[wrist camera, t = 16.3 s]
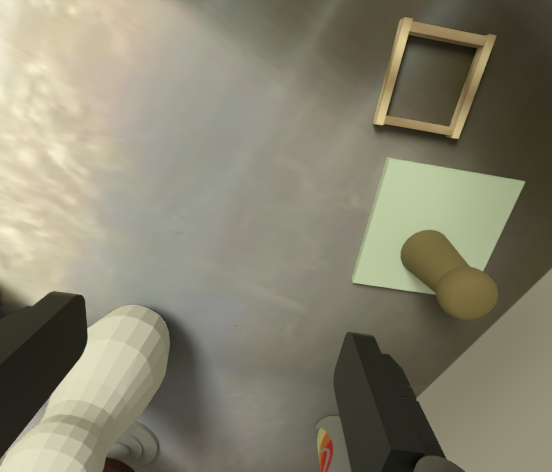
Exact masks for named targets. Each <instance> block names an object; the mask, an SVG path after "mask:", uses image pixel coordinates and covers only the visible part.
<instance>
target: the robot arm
mask: <svg viewBox="0 0 552 472" xmlns="http://www.w3.org/2000/svg"><path fill="white" fill-rule="evenodd" d="M87 340H88V333H87V320H86V308H85V299H84V297H83V296H82V295H78V294H71V293H63V292H56V291H53V292H50V293H49V294H47V295H46V296H45V297H44V298H42V299H41V300H40V301H39V302H37V303H36V304H35V305H34V306H32V307H31V306H27V307H25V308H23V309H20V310H18V311H16V312H14V313H12V314H10V315H7V316H5V317H4V318H3V319H1V320H0V459H1V457H2V456H3V455H4V453H5V452H6V451H7V450H8V448H9V447H10V446H11V445H12V443H13V442H14V441H15V440H16V438H17V437H18V436H19V435H20V433H21V432H22V431H23V430H24V428H25V427H26V426H27V425H28V423H29V422H30V421H31V420H32V418H33V417H34V416H35V414H36V413H37V412H38V411H39V409H40V408H41V407H42V406H43V404H44V403H45V402H46V401H47V399H48V398H49V397H50V396H51V394H52V393H53V392H54V391H55V389H56V388H57V387H58V386H59V384H60V383H61V382H62V380H63V379H64V378H65V377H66V375H67V374H68V373H69V372H70V370H71V369H72V368H73V367H74V365H75V364H76V363H77V362H78V360H79V359H80V358H81V356H82V354H83V353H84V350H85V348H86V345H87ZM334 391H335V396H336V401H337V405H338V410H339V415H340V420H341V424H342V429H343V434H344V439H345V443H346V448H347V453H348V458H349V462H350V467H351V472H465V471H464V470H463V469H461V468H460V467H459V466H457V465H456V464H454V463H453V462H451V461H449V460H447V459H446V457H445V455H444V453H443V451H442V449H441V447H440V445H439V443H438V441H437V439H436V437H435V435H434V433H433V431H432V429H431V427H430V425H429V422H428V420H427V419H426V416H425V414H424V412H423V410H422V408H421V406H420V404H419V402H418V401H416V396H415V394H414V392H413V390H412V388H410V384H409V382H408V380H407V378H406V376H405V374H404V372H403V370H402V368H401V367H400V366H399V365H398V364H397V363H396V362H395V361H394V359H393V358H392V357H391V356H390V355H388V354H382V353H381V351H380V349H379V347H378V344H377V342H376V340H375V338H374V336H373V335H368V334H360V333H353V332H348V333H347V334H346V336H345V338H344V342H343V345H342V348H341V351H340V355H339V358H338V361H337V364H336V368H335V372H334Z"/></svg>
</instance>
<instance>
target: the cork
mask: <svg viewBox="0 0 552 472" xmlns="http://www.w3.org/2000/svg"><path fill="white" fill-rule="evenodd" d="M400 259H401V261H402V264H403V265H404V267H405V268H406V269H407V270H408V271H410V272H411V273H412V274H413V275H414V276H416V277H417V278H418V279H419V280H420V281H422V282H423V283H424V284H425V285H426V286H428V287H429V288H430V289H431V290H432V291H434V292H435V294H436V297H437V300H438V303H439V305H440V306H441V308H442V309H443V310H444V311H445V312H446V313H447V314H449V315H450V316H452V317H454V318H456V319H462V320H475V319H478V318H481V317H483V316H485V315H487V314H488V313H489V312H490V311H491V310H492V309H493V308H494V307H495V305H496V303H497V300H498V290H497V286H496V284H495V282H494V281H493V280H492V278H491V277H490V276H489V275H488V274H486V273H485V272H483V271H481V270H479V269H477V268H473V267H470V266H469V265H468V264H467V262H466V261H465V260H464V259H463V257H462V256H461V255H460V254H459V252H458V251H457V250H456V249H455V248H454V246H453V245H452V244H451V243H450V241H449V240H448V239H447V238H446V236H445V235H444V234H442V233H440V232H438V231H435V230H423V231H420V232H417V233H415V234H413V235H412V236H411V237H409V238H408V239H407V240H406V242H405V243H404V244H403V246H402V249H401V256H400Z"/></svg>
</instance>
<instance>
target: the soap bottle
mask: <svg viewBox="0 0 552 472" xmlns="http://www.w3.org/2000/svg"><path fill="white" fill-rule="evenodd" d="M87 333H88V340H87V345H86V348H85V350H84V353H83V354H82V356H81V358H80V359H79V360H78V362H77V363H76V364H75V365H74V367H73V368H72V369H71V370H70V372H69V373H68V374H67V375H66V377H65V378H64V379H63V380H62V382H61V383H60V384H59V386H58V387H57V388H56V389H55V391H54V392H53V393H52V394H51V397H50V400H49V403H48V406H47V409H46V412H45V415H44V417H43V418H42V420H41V421H40V423H39V424H38V425H37V426H36V427H34V428H33V429H32V430H30V431H29V432H28V433H27V434H26V435H25V436H24V437H23V438H22V439H21V440H20V441H19V442H18V443H17V444H16V445H15V446H14V447H13V448H12V449H11V450H10V451H9V452H8V454H7V455H6V457H5V459H4V461H3V463H2V465H1V466H0V472H102V471H103V469H104V464H105V459H106V455H107V453H108V451H109V449H110V447H111V446H112V444H113V443H114V442H115V441H116V440H117V439H118V438H119V437H120V436H121V435H122V434H123V433H124V432H125V431H126V430H127V429H128V428H129V427H130V426H131V425H132V424H133V423H134V422H135V421H136V419H137V418H138V417H139V416H140V415H141V414H142V413H143V411H144V410H145V408H146V407H147V406H148V404H149V402H150V401H151V399H152V398H153V396H154V395H155V393H156V392H157V390H158V389H159V387H160V385H161V383H162V381H163V378H164V376H165V373H166V368H167V361H168V355H169V348H170V337H169V331H168V328H167V325H166V322H165V321H164V320H163V319H162V317H161V316H160V315H159V314H157V313H156V312H154V311H152V310H150V309H149V308H145V307H142V306H138V305H127V306H123V307H121V308H118V309H116V310H114V311H113V312H111V313H109V314H108V315H106V316H105V317H103V318H102V319H101V320H99V321H98V322H96V323H95V324H93V325H92V326H91V327H89V328H88V329H87Z"/></svg>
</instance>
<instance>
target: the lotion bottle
mask: <svg viewBox="0 0 552 472" xmlns="http://www.w3.org/2000/svg"><path fill="white" fill-rule="evenodd" d="M316 438H317V446H318V454H319V462H320V470H321V472H351V467H350V462H349V458H348V453H347V448H346V443H345V439H344V434H343V429H342V424H341V420H340V417H339V416H328V417H325V418H323V419H321V420H320V421H319V422H318V423H317V425H316Z"/></svg>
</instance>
